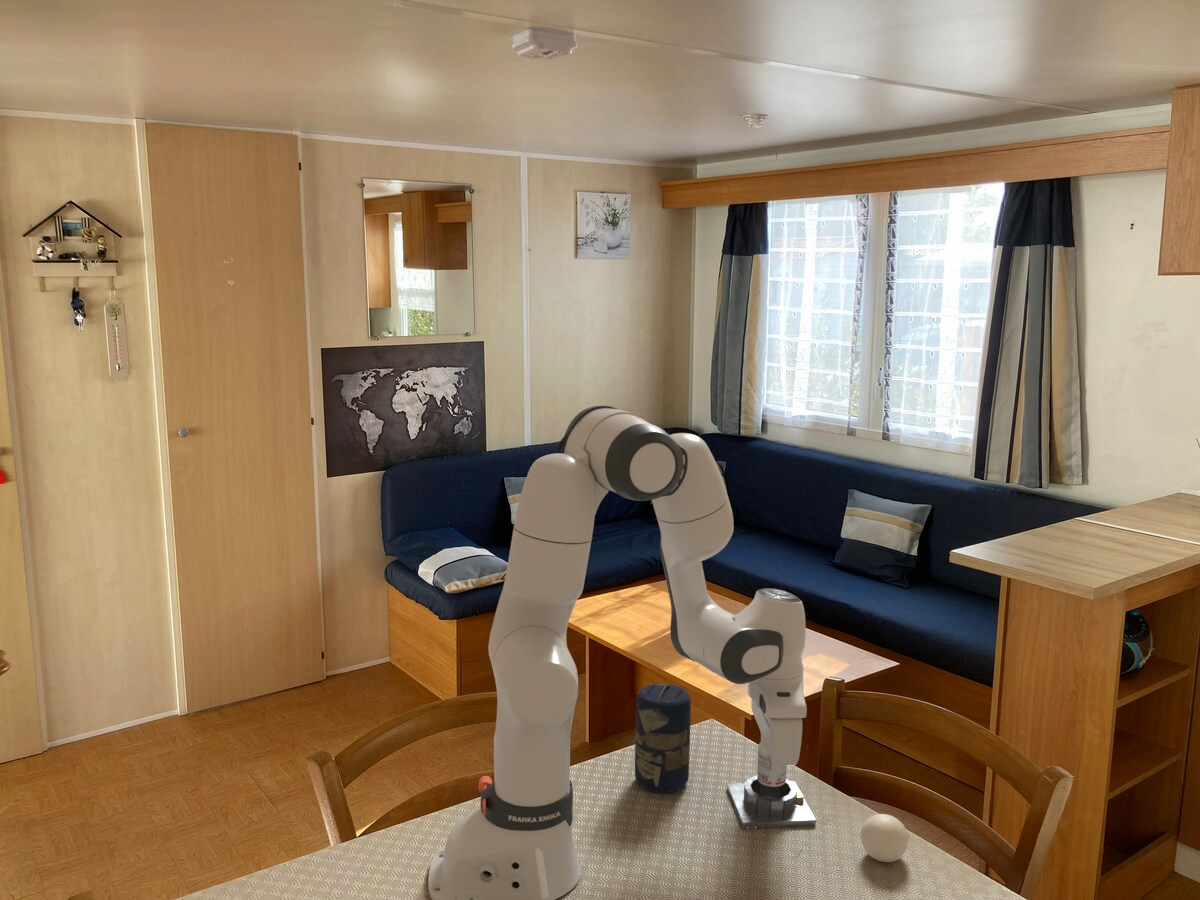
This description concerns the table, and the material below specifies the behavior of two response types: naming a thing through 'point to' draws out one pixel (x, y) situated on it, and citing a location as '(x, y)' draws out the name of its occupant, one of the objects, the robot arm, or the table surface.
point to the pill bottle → (768, 767)
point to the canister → (662, 737)
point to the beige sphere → (884, 837)
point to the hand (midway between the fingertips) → (771, 763)
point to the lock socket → (770, 804)
